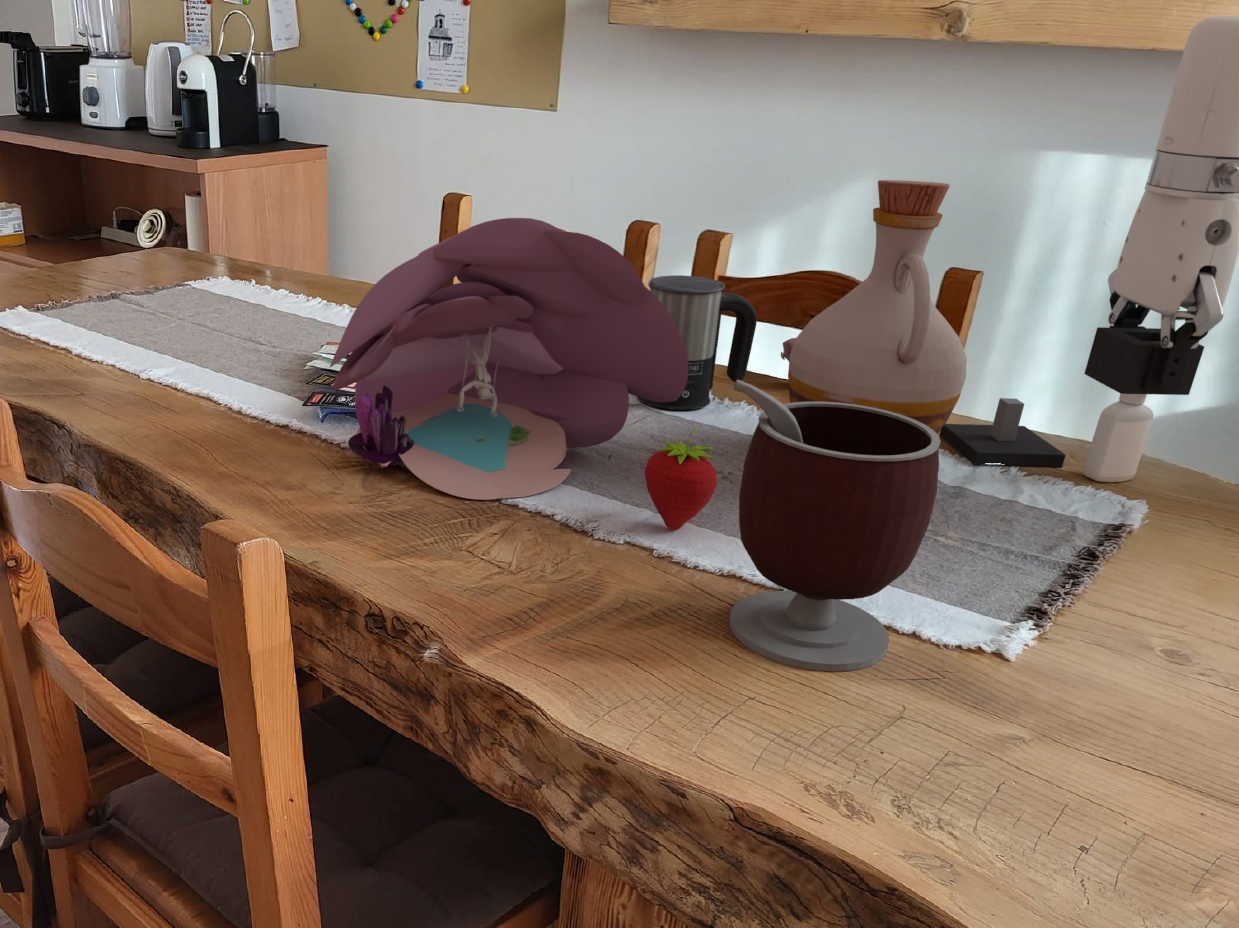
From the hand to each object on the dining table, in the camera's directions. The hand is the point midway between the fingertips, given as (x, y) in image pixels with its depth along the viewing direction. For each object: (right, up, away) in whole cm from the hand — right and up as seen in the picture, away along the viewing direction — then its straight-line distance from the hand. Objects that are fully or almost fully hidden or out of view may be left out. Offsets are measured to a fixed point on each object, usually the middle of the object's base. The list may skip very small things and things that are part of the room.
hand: (1137, 377), depth 108 cm
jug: (-19, -7, +20) cm, 28 cm away
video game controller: (-16, +8, +49) cm, 52 cm away
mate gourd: (-36, -23, -15) cm, 46 cm away
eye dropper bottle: (+8, -7, +20) cm, 23 cm away
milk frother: (-35, +6, +43) cm, 56 cm away
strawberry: (-43, -14, +3) cm, 45 cm away
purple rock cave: (-60, -7, +16) cm, 63 cm away
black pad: (0, -1, 0) cm, 1 cm away
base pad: (0, -4, +27) cm, 27 cm away
